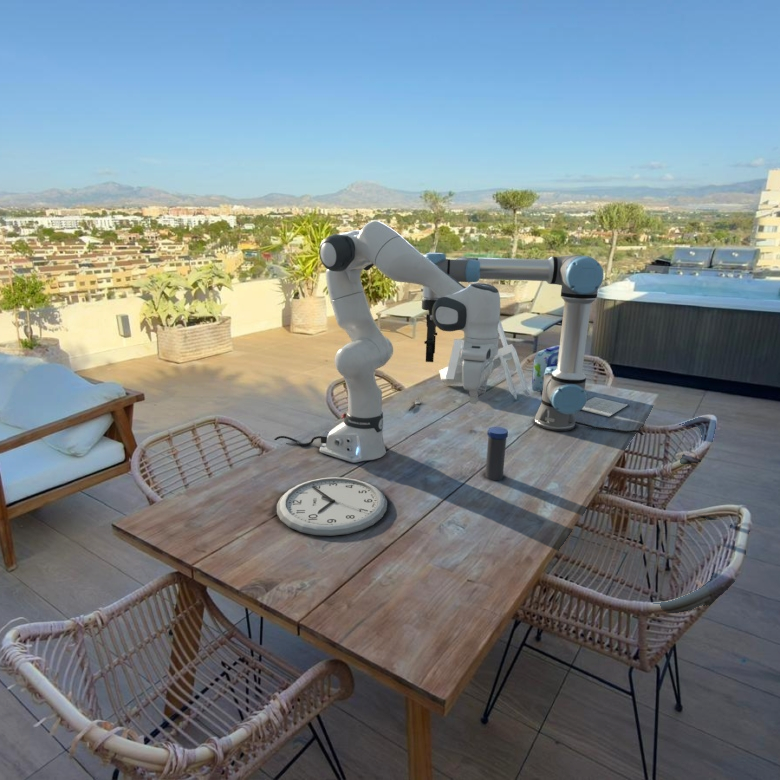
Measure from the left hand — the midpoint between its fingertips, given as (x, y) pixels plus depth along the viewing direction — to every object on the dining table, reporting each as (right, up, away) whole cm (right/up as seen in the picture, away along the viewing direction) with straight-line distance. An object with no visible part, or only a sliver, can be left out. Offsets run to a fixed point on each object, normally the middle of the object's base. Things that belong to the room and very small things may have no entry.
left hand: (478, 397), depth 140 cm
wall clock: (-39, -30, +3) cm, 49 cm away
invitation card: (+68, -5, +86) cm, 110 cm away
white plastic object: (+18, +1, +103) cm, 105 cm away
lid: (+9, -10, +17) cm, 22 cm away
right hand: (-9, +14, +49) cm, 52 cm away
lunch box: (+53, +2, +108) cm, 120 cm away
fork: (-13, -5, +83) cm, 84 cm away
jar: (+9, -25, +21) cm, 34 cm away
